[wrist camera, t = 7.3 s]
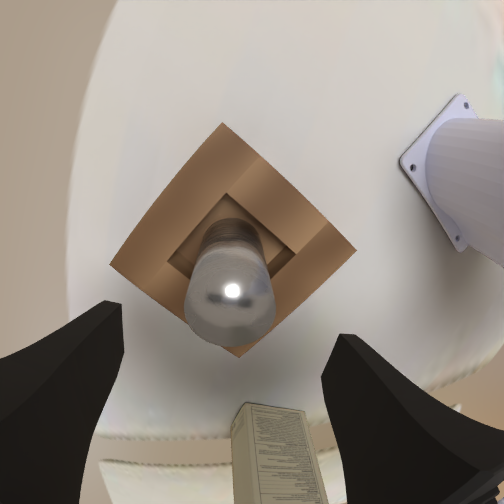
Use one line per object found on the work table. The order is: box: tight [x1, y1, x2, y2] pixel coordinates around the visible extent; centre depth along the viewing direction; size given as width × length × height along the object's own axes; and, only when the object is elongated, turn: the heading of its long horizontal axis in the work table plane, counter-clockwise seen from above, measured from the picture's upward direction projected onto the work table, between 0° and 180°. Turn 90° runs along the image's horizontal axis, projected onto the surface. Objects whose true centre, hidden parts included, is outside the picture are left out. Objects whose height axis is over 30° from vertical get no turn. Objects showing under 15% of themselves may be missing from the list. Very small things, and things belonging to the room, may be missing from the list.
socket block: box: [109, 122, 357, 358], centre depth 17 cm, size 10×10×2 cm
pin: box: [184, 218, 276, 347], centre depth 15 cm, size 4×4×7 cm
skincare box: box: [231, 403, 329, 504], centre depth 20 cm, size 6×4×12 cm
